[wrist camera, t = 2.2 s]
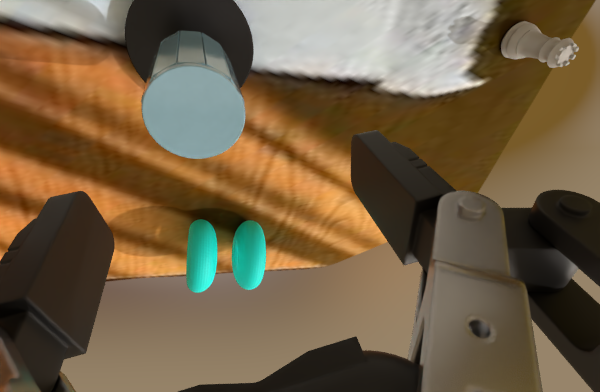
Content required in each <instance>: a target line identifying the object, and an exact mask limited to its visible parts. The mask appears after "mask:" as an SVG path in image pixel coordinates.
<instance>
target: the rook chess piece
mask: <svg viewBox="0 0 600 392" xmlns="http://www.w3.org/2000/svg"><path fill="white" fill-rule="evenodd" d="M501 51H502V54H503V55H504V57H507V58H511V59H520V58H525V57H532V58H537V59H539V60H540V62H547V64H548V66H549V67H551V68H555V67H558V66H560V67H562V66H563V65H564V66H567V65H568V64H569V62H568V60H569V59H572V60H573V59H574V58H575V57H576V55H573V52H577V51H578V47H576V44H574V42H573V40H572V39H570V38H567V39H563V40H561V41H560V39H559V38H557V37H555V38H549V37H547V36H545V35H543V34H542V33H541V32H540V30H539V29H538V27H537V26H536V25H535V24H532V23H529V22H526V21H524V22H520V23H518V24H516V25H514V26H513V27H511V28H510V29H509V30H508V31H507V33H506V34H505V36H504V37H503V39H502V43H501Z"/></svg>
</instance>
